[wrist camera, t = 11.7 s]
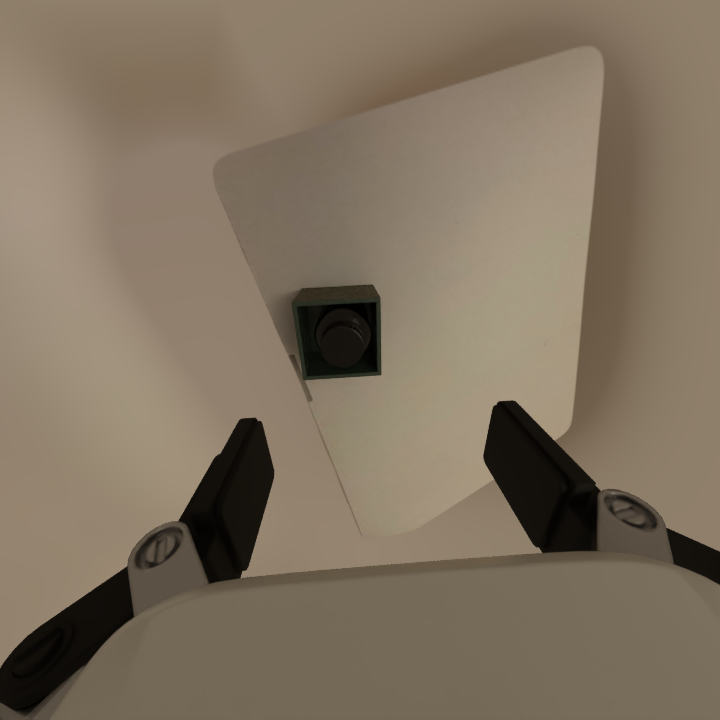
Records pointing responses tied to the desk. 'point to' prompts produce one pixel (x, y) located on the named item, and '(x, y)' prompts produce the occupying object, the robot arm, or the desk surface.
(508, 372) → the desk surface
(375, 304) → the open box
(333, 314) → the supplement bottle
